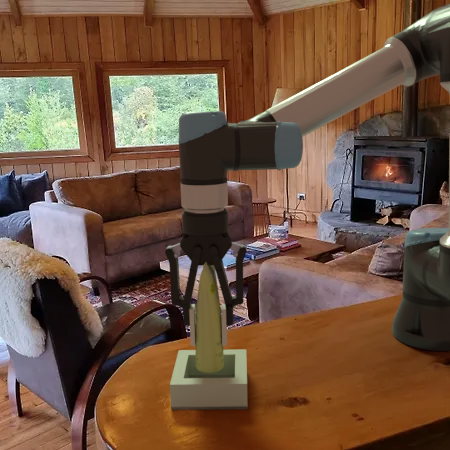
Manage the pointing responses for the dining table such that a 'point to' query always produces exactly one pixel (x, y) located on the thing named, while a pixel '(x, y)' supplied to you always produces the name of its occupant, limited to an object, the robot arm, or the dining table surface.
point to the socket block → (209, 383)
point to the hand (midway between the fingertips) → (209, 342)
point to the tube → (208, 323)
